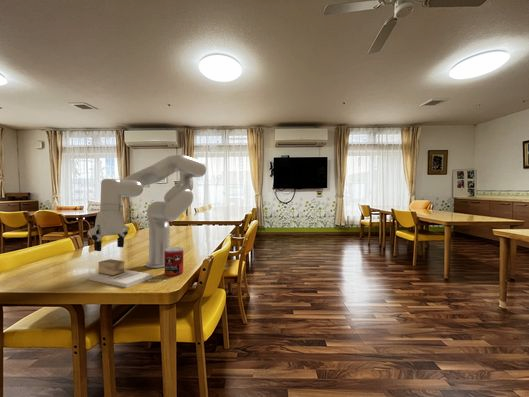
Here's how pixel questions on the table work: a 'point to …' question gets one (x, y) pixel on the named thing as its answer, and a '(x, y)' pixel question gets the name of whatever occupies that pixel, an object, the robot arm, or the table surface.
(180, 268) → the canned food
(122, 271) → the block
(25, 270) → the table surface
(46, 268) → the table surface
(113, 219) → the robot arm
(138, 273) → the board
